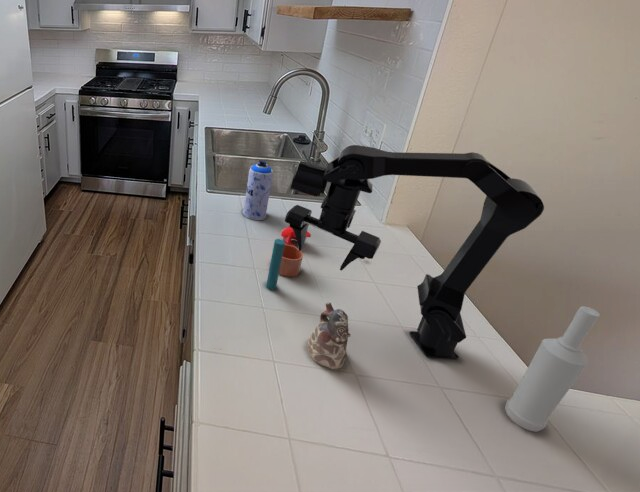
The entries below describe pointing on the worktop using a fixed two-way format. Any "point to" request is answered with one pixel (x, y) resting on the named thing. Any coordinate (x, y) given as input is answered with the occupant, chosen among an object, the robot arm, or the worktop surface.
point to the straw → (275, 264)
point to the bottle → (551, 374)
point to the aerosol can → (258, 191)
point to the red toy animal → (290, 235)
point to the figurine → (330, 338)
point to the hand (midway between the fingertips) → (320, 259)
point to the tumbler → (290, 261)
